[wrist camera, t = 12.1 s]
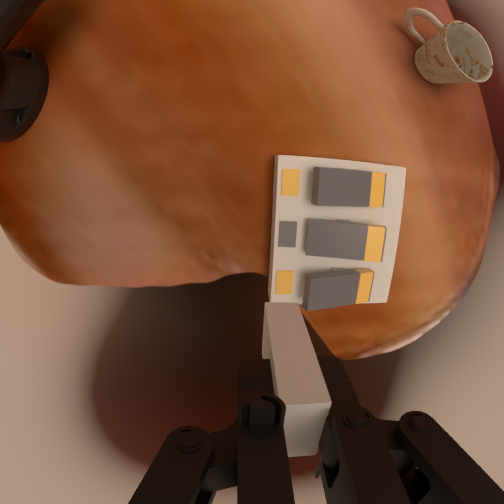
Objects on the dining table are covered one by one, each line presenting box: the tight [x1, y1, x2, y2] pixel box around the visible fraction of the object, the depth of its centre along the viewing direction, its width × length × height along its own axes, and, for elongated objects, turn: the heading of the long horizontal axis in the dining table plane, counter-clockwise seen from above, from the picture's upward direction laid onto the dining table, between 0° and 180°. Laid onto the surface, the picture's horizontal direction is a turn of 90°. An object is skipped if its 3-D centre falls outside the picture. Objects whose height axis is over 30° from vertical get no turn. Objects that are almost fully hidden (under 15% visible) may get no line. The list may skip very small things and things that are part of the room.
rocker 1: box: [311, 166, 386, 208], centre depth 33 cm, size 9×4×1 cm, turn 88°
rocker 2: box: [305, 218, 387, 262], centre depth 35 cm, size 9×4×2 cm, turn 88°
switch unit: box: [268, 155, 406, 304], centre depth 38 cm, size 16×18×5 cm
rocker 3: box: [302, 268, 375, 311], centre depth 36 cm, size 9×4×1 cm, turn 88°
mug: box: [405, 8, 493, 84], centre depth 28 cm, size 8×13×10 cm, turn 49°
